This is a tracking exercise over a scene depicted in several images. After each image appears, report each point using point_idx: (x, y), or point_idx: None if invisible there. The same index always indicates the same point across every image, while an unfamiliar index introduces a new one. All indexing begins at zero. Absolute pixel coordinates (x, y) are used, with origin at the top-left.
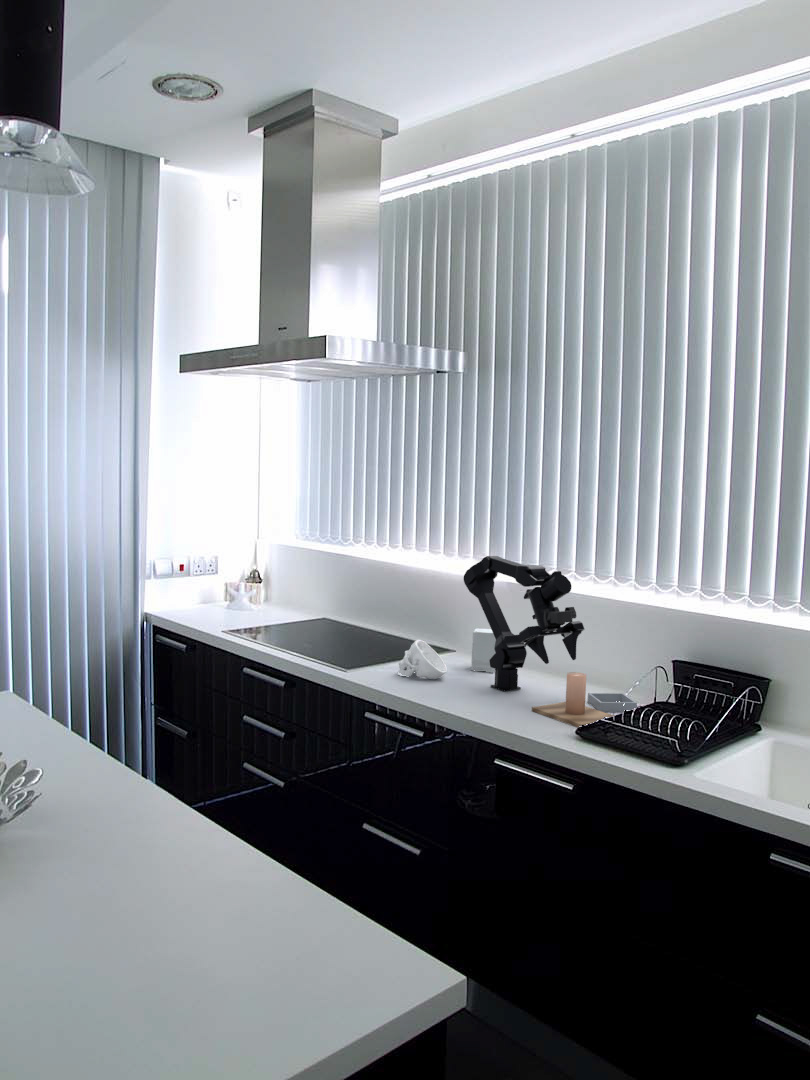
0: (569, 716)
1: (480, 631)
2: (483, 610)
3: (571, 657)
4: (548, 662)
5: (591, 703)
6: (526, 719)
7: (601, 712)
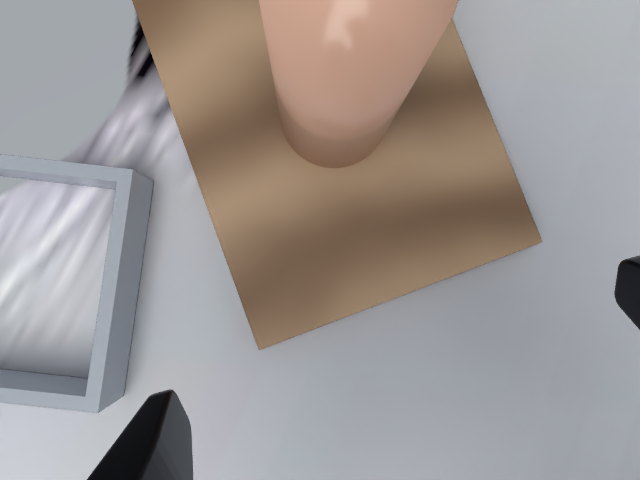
0: None
1: None
2: None
3: (190, 470)
4: (630, 259)
5: (129, 324)
6: (613, 94)
7: (184, 89)
